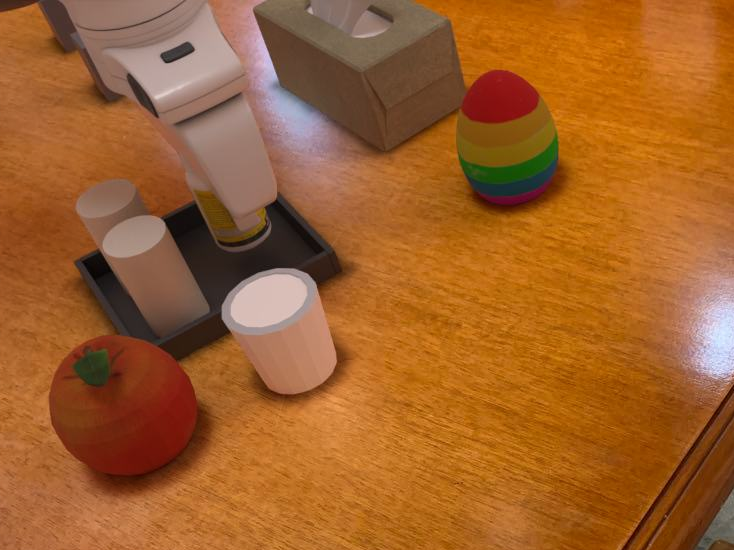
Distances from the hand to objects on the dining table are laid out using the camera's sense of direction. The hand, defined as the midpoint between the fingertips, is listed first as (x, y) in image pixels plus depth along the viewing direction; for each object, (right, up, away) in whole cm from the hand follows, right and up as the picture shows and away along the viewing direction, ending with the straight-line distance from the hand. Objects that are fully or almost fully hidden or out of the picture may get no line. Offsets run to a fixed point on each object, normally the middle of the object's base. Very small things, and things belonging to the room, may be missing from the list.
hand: (231, 207), depth 82 cm
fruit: (-4, -20, -7) cm, 21 cm away
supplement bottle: (0, -2, +2) cm, 3 cm away
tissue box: (+9, +16, +16) cm, 24 cm away
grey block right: (-18, +20, +24) cm, 36 cm away
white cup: (+7, -14, -5) cm, 16 cm away
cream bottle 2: (-4, -9, 0) cm, 10 cm away
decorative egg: (+22, +3, +5) cm, 23 cm away
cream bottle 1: (-8, -5, +3) cm, 10 cm away
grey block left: (-26, +29, +32) cm, 50 cm away
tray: (-2, -5, +3) cm, 6 cm away
